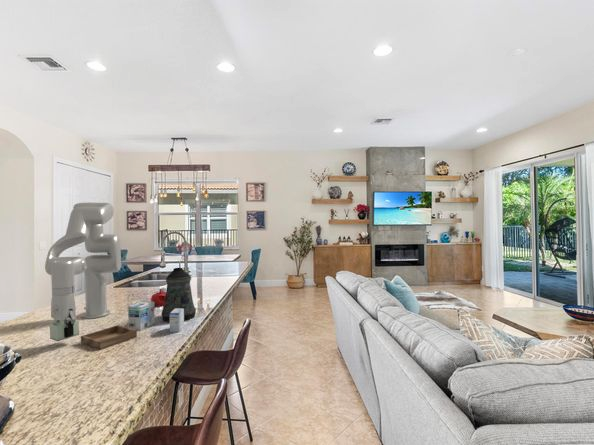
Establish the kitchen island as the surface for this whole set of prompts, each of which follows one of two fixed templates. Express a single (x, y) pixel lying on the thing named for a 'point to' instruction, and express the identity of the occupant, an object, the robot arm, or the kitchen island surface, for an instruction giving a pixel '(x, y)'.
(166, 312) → the beer stein
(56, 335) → the small crate
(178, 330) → the medicine box
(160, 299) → the pomegranate
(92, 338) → the crate
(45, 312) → the kitchen island surface
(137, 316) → the light bulb box
